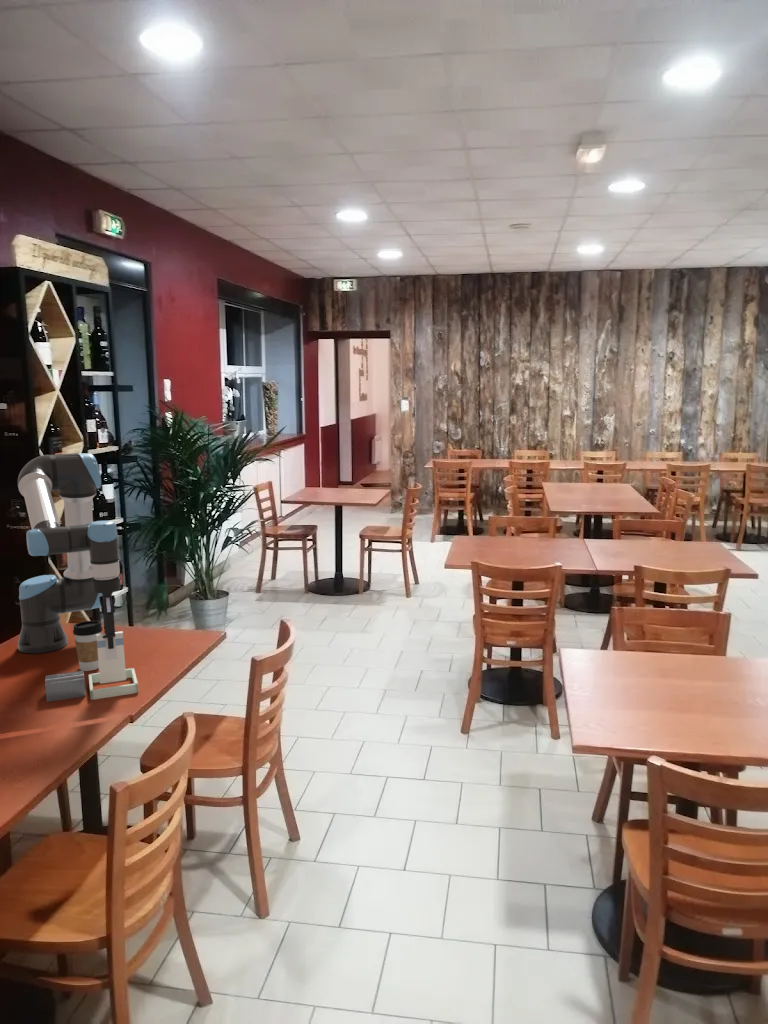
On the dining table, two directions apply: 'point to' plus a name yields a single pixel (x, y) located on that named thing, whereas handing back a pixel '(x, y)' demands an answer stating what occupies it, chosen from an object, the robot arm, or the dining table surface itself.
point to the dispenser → (65, 686)
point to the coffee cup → (87, 644)
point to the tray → (113, 690)
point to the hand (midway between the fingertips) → (111, 657)
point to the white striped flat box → (111, 660)
